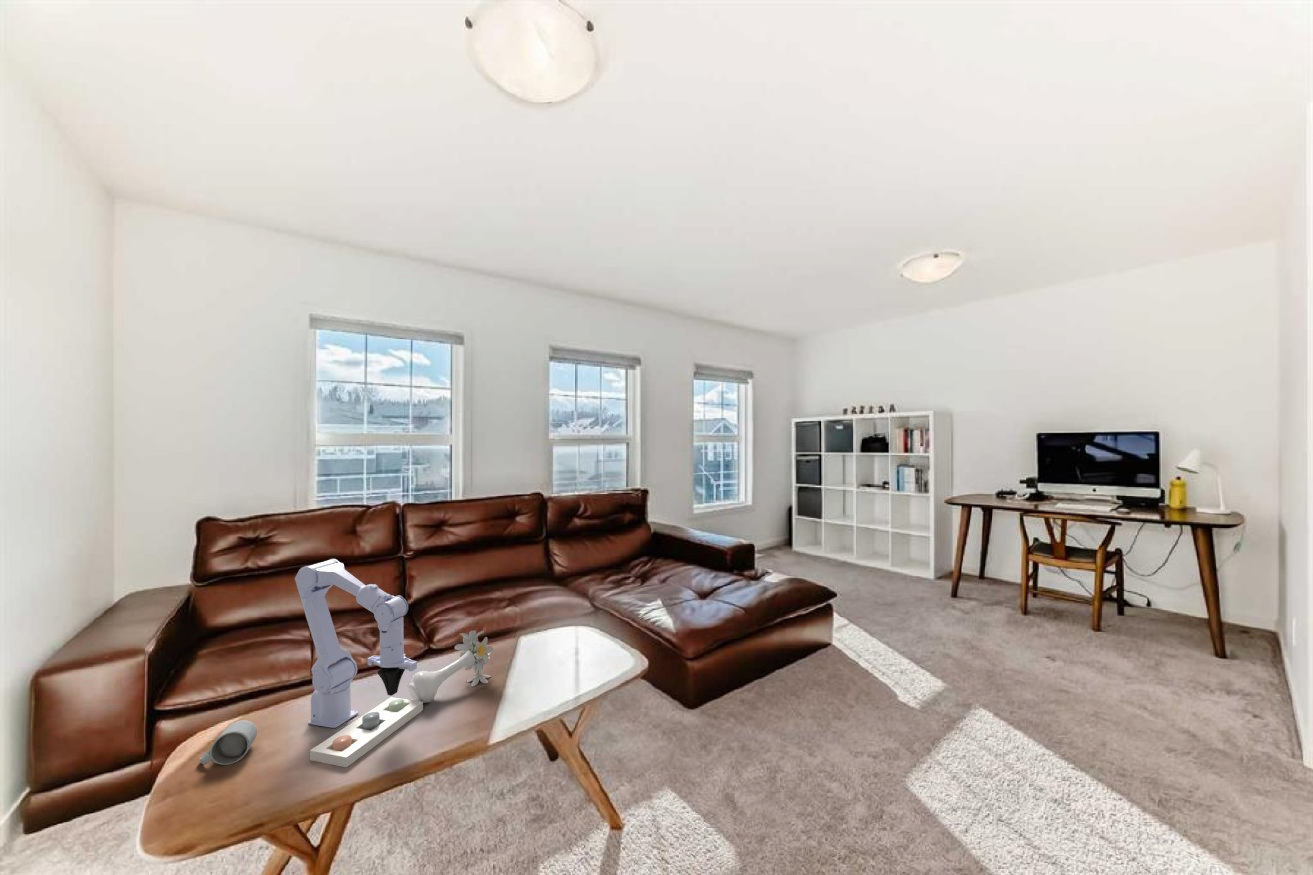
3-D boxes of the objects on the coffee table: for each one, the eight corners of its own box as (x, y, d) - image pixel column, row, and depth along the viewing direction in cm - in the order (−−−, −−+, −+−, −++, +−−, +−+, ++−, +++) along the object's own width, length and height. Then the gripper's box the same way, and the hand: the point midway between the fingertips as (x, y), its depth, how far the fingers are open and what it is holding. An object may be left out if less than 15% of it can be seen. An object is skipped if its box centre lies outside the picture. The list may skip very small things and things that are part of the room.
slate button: (358, 730, 134) (358, 718, 134) (371, 722, 138) (370, 710, 138) (371, 733, 133) (371, 720, 133) (383, 724, 137) (382, 712, 137)
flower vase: (428, 730, 148) (502, 678, 165) (416, 680, 142) (494, 632, 160) (408, 707, 156) (481, 660, 174) (396, 659, 150) (472, 615, 168)
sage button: (385, 716, 142) (385, 705, 142) (396, 709, 146) (395, 698, 146) (397, 718, 141) (397, 707, 141) (407, 711, 145) (407, 700, 145)
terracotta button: (328, 756, 125) (328, 743, 125) (342, 746, 129) (342, 733, 129) (341, 758, 124) (341, 745, 124) (355, 748, 128) (355, 736, 128)
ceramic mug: (259, 741, 132) (258, 712, 132) (249, 760, 124) (248, 729, 124) (207, 753, 127) (206, 723, 127) (193, 773, 120) (192, 741, 120)
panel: (310, 759, 124) (310, 750, 124) (391, 705, 149) (391, 696, 149) (346, 767, 121) (346, 757, 121) (422, 709, 146) (422, 701, 146)
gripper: (424, 640, 139) (425, 689, 139) (381, 635, 143) (382, 683, 143) (405, 651, 132) (406, 702, 132) (361, 645, 136) (361, 695, 136)
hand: (392, 693), depth 137 cm, fingers closed
